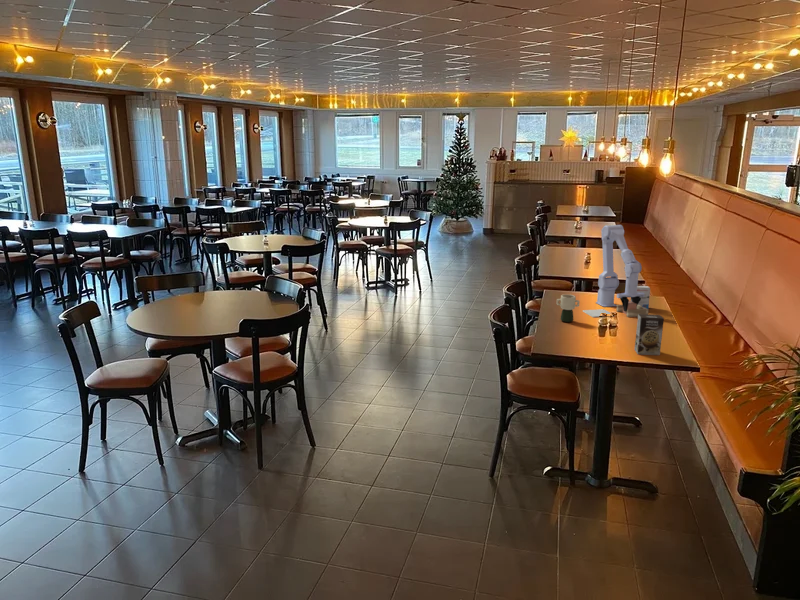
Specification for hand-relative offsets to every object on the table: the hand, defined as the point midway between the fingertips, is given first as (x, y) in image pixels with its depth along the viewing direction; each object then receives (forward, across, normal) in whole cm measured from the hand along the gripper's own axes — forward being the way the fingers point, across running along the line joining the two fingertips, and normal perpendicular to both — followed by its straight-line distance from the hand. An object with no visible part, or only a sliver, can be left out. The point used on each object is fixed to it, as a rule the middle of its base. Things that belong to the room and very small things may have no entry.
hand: (629, 310), depth 312 cm
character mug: (+2, -38, -7) cm, 38 cm away
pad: (+2, -16, +3) cm, 16 cm away
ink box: (+2, +12, +10) cm, 15 cm away
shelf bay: (+2, +1, 0) cm, 2 cm away
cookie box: (+2, -24, -58) cm, 63 cm away
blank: (+2, 0, 0) cm, 2 cm away
